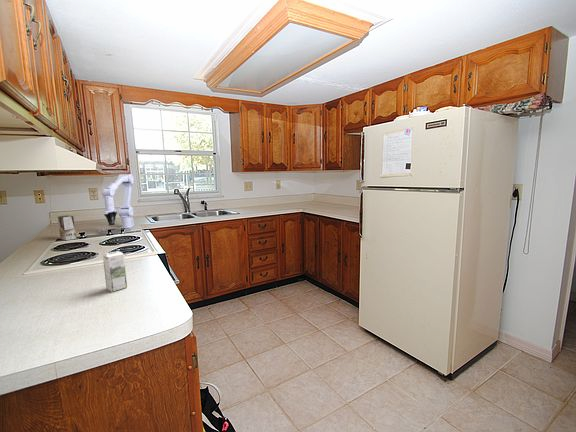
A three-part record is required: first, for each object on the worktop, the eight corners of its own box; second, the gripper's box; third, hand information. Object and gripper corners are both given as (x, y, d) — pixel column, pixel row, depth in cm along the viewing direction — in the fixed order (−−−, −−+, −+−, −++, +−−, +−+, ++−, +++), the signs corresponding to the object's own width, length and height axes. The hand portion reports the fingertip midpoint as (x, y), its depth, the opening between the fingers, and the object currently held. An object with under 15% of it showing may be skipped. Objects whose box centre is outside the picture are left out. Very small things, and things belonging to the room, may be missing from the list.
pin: (110, 224, 223) (109, 215, 222) (115, 224, 223) (114, 215, 222) (107, 225, 219) (106, 216, 218) (113, 225, 219) (111, 216, 218)
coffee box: (76, 238, 203) (73, 215, 200) (66, 240, 197) (62, 217, 195) (70, 237, 207) (67, 214, 205) (60, 239, 202) (56, 216, 199)
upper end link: (103, 231, 226) (103, 228, 226) (122, 230, 227) (122, 227, 227) (96, 234, 216) (96, 230, 216) (116, 233, 217) (116, 230, 217)
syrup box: (121, 284, 119) (117, 250, 117) (127, 287, 115) (123, 252, 113) (106, 288, 115) (102, 253, 112) (112, 292, 111) (107, 256, 109)
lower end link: (109, 231, 226) (109, 229, 226) (130, 230, 228) (130, 228, 228) (102, 233, 216) (102, 231, 216) (124, 233, 218) (124, 231, 218)
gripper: (109, 203, 225) (111, 220, 227) (98, 205, 211) (101, 224, 213) (118, 203, 226) (120, 220, 228) (108, 205, 212) (111, 223, 214)
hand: (111, 222), depth 221 cm, fingers closed on pin, 4 cm apart
